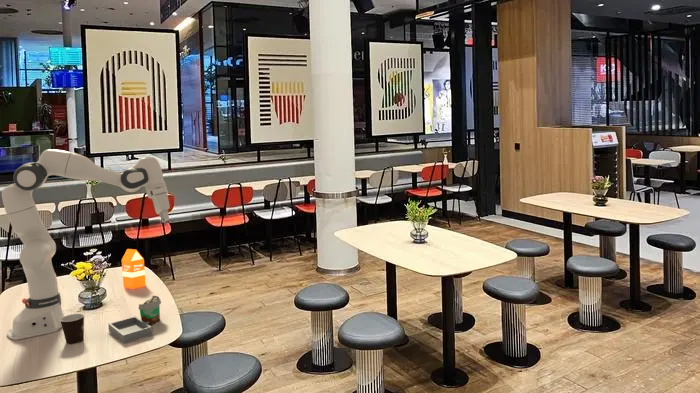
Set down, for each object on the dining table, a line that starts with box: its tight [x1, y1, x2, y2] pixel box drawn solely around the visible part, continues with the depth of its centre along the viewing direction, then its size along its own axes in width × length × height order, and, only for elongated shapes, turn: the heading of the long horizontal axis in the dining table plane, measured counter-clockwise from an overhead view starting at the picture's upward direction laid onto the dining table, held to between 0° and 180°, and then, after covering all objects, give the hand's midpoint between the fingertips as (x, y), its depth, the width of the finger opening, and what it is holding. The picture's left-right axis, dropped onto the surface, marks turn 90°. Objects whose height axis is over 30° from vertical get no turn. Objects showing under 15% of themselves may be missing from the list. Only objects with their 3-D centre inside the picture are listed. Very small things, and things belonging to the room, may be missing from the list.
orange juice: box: [121, 248, 147, 290], centre depth 293 cm, size 8×9×20 cm
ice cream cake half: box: [138, 295, 162, 326], centre depth 242 cm, size 12×6×10 cm, turn 170°
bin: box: [107, 315, 153, 345], centre depth 231 cm, size 12×18×4 cm, turn 41°
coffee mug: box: [60, 313, 85, 345], centre depth 226 cm, size 12×9×10 cm
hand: (165, 221), depth 249 cm, fingers open, 8 cm apart
